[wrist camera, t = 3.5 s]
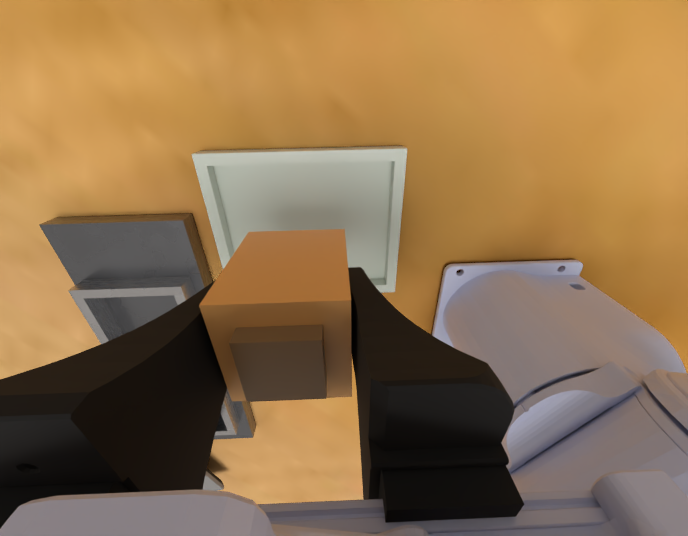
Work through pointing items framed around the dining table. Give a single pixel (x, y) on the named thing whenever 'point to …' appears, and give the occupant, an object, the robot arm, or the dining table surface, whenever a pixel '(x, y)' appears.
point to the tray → (310, 198)
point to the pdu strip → (138, 279)
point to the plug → (283, 317)
